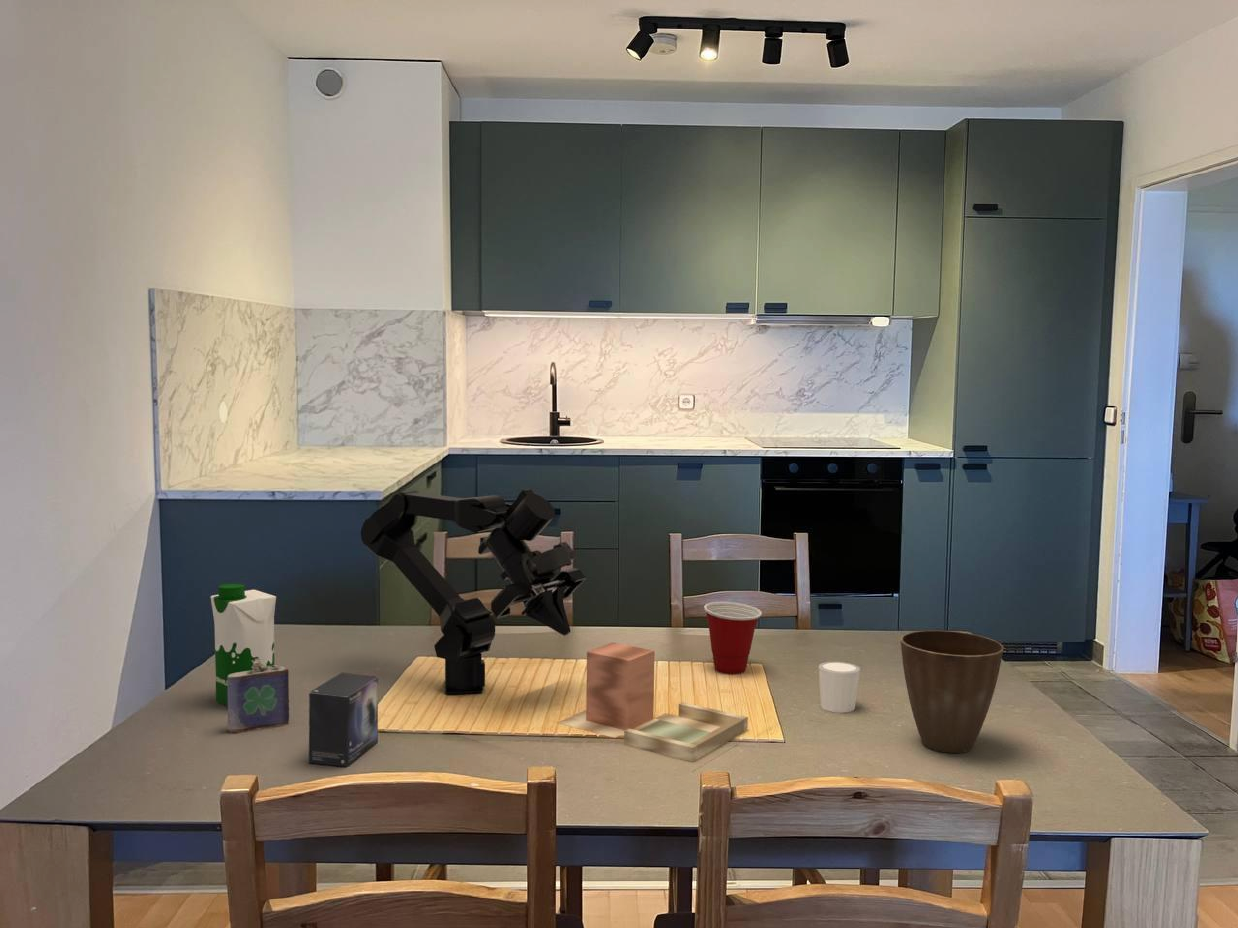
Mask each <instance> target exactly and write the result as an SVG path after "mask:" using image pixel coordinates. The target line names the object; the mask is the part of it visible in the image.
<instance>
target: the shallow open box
mask: <svg viewBox="0 0 1238 928" xmlns="http://www.w3.org/2000/svg"><path fill="white" fill-rule="evenodd" d="M748 723H749V717H748V716H744V715H740V714H737V713H732V712H727V711H723V710H719V709H715V708H710V707H705V706H703V705H702V706H701V705H696V704H693V703H688V702H684V701H683V702H680V703H678V715H674V714H672V713H671V714H670V713H666V712H664V713H662V714H661V715H658V716H657V717H655V718H654V717H653V719H652V720H650V721H648V722H646V723H644V724H642V725H640V726H638V727H636V728H634V729H630V728H629V729H627V730H621V729H617V728H613V727H610V726H606V725H602V724H598V723H594V722H590V721H586V709H584V710H582V711H581V712H578V713H576V714H574V715H572V716H569V717H567V718H564V719H563V720H560V721H557V723H556V724H561V725H564V726H567V727H571V728H575V729H579V730H583V731H586V732H587V731H588V732H590V733H593V734H599V735H601V736H606V737H609V738H613V739H616V738H619V737H620V736H622V735H623V736H624V737H623V739H624V740H623V745H627V746H630V747H634V748H638V749H641V750H646V751H650V752H653V753H657V754H660V755H664V756H668V757H672V758H675V759H679V760H683V761H687V762H690V763H693V762H695V761H697V760H698V759H701V758H702V757H704V756H706V755H707V754H709V753H710V752H713V751H714V750H715V749H718V748H719V747H721V746H722V745H724V744H726V743H727V742H729V741H731V740H733V739H735V738H736V737H738V736H739V735H742V734H743V733H745V732H747V731H748V730H749V729H748V728H749V727H748V726H749V725H748ZM736 746H738V744H736V745H735V747H736ZM732 749H733V747H731V748H730V750H732ZM727 752H728V750H727V751H725V753H727ZM721 755H723V753H722V754H720V756H721ZM717 758H718V756H716V757H715V759H717ZM712 761H713V759H711V760H710V761H709V760H708V762H707V763H704V764H703V765H701V766H699V768H701V767H703V766H705V765H706V764H708V763H709V762H712ZM699 768H698V769H699ZM695 771H696V769H694V770H693V772H695Z"/></svg>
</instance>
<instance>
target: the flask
mask: <svg viewBox="0 0 1238 928" xmlns="http://www.w3.org/2000/svg"><path fill="white" fill-rule="evenodd" d="M252 662H253V666H252V669H253V670H250V671H244V672H237V673H233V674H229V675H228V676H227V686H228V707H227V730H228V732H229V733H230V734H233V733H237V734H238V733H245V732H248V731H250V732H251V731H258V730H263V729H265V728H267V729H270V728H273V727H276V728H277V727H279V726H287V725H288V724H290V723H289V722H290V720H289V719H290V698H289V697H290V696H289V695H290V694H289V691H290V689H289V688H290V687H289V684H290V683H289V678H290V677H289V675H290V674H289V672H290V671H289V669H288V668H287V667H286V666H278V665H276V664H274V665H272V666H274V667H272V666H265V665H263V664H261V663H260V658H258V659H255V661H253V660H252ZM269 667H272V668H269Z"/></svg>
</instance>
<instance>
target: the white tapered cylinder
mask: <svg viewBox="0 0 1238 928" xmlns="http://www.w3.org/2000/svg"><path fill="white" fill-rule="evenodd" d="M860 670H861V667H860V666H858V665H856V664H853V663H849V662H844V661H843V662H842V661H826V662H822V663H819V665H818V677H819V679H818V680H819V691H820V692H819V695H820V707H821V708H822V709H823V710H825V711H828V712H833V713H840V714H842V713H850V712H854V711H855V709H856V702H857V701H856V700H857V693H858V686H859V678H860Z"/></svg>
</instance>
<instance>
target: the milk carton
mask: <svg viewBox="0 0 1238 928" xmlns="http://www.w3.org/2000/svg"><path fill="white" fill-rule="evenodd" d="M245 589H246V588H245V584H244V583H240V582H228V583H223V584H220V585H219V586H218V594H214V595H210V604H211V610H212V615H213V622H214V657H215V659H214V661H215V665H214V666H215V702H217V703H220V704H222V705H223V706H225V707H227V708H228V686H227V676H228V675H229V674H233V673H237V672H244V671H250V670H253V669H252V666H253V662H252V660H253V661H255V659H258V658H260V663H261V664H263V665H265V666H272V665H275V617H274V616H275V610H276V602H277V596H275V595H273V594H269V593H266V592H263V591H260V590H258V589H249V590H245ZM272 667H274V666H272ZM272 667H269V668H272Z"/></svg>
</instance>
